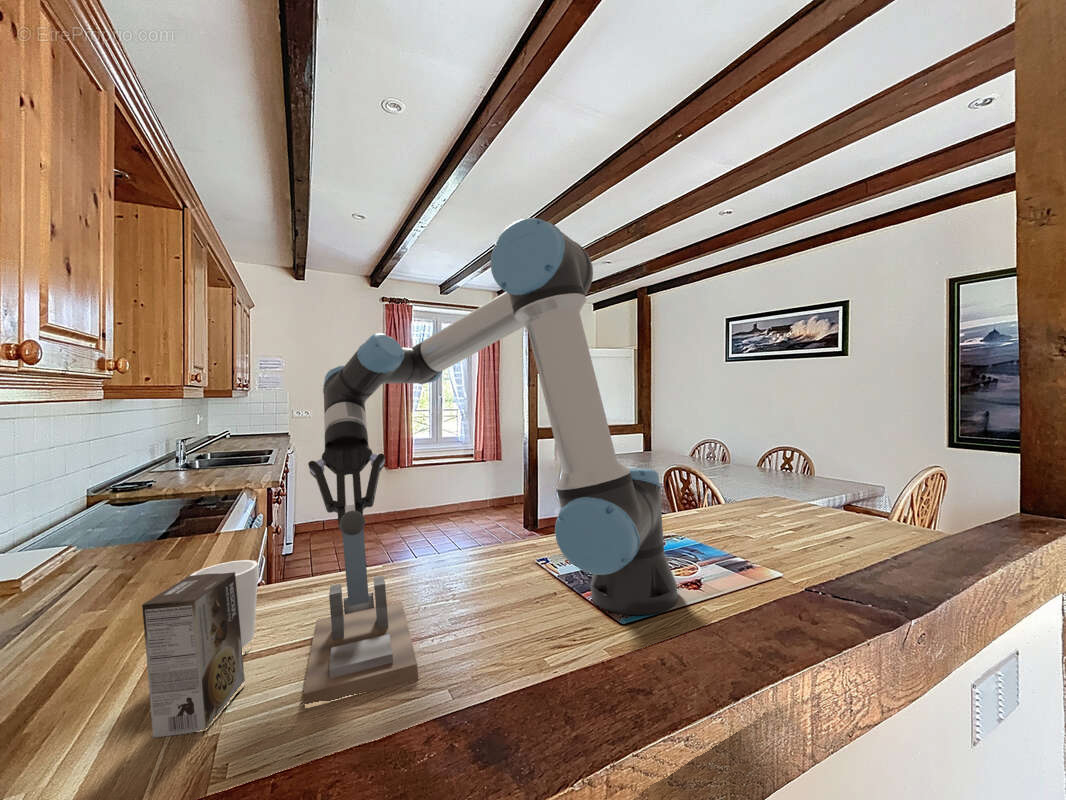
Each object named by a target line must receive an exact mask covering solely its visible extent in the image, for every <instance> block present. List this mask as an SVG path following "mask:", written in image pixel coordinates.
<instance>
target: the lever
mask: <svg viewBox="0 0 1066 800" xmlns="http://www.w3.org/2000/svg"><path fill="white" fill-rule="evenodd" d="M365 519H366V518H365V517H364V514H363V515H362V514H361V513H360V512H358V511H349V512H346V513H345V514H344V515H343V516H342V517H341V519H340V529H341V530H340V529H339V530H340V531H341V534H342V535H341V536H342V546H343V556H344V557H343V558H344V567H345V568H344V569H345V578H346V589H347V590H346V591H347V597H343V614H349V613H354V612H359V611H363V610H368V609H373V608H374V607H375V601H374V600H375V599H374V593H373V592H374V591H373V592H369V585H368V584H369V583H368V571H367V557H366V545H365V532H364V528H365V525H366V520H365Z"/></svg>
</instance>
